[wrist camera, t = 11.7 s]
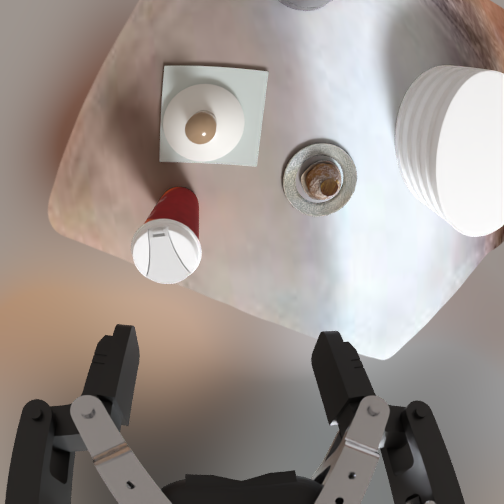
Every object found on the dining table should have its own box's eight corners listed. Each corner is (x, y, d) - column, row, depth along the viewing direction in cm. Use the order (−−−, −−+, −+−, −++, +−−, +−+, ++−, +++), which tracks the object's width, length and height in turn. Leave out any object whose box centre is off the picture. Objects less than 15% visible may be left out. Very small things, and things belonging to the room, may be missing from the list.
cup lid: (166, 83, 34) (156, 83, 28) (248, 86, 36) (253, 86, 30) (163, 158, 40) (153, 172, 34) (239, 162, 42) (243, 176, 36)
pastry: (362, 196, 47) (374, 207, 43) (297, 224, 49) (304, 238, 45) (341, 130, 41) (353, 136, 37) (269, 160, 43) (274, 169, 39)
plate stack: (511, 123, 40) (549, 138, 30) (458, 228, 52) (490, 256, 43) (432, 34, 32) (478, 32, 22) (366, 167, 44) (403, 193, 35)
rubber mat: (165, 66, 33) (164, 65, 33) (267, 71, 35) (268, 71, 35) (160, 160, 41) (159, 161, 40) (256, 165, 43) (256, 166, 42)
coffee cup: (149, 183, 42) (120, 229, 30) (202, 176, 43) (195, 220, 30) (158, 232, 47) (138, 291, 34) (209, 226, 47) (205, 286, 34)
